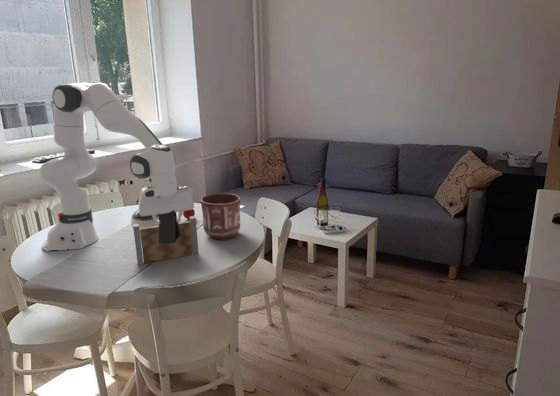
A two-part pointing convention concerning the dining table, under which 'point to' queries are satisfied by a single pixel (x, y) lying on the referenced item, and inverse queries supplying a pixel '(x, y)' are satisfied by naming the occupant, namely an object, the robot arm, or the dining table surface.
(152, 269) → the dining table surface
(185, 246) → the door
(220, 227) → the pottery
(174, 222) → the phone stand
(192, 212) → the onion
